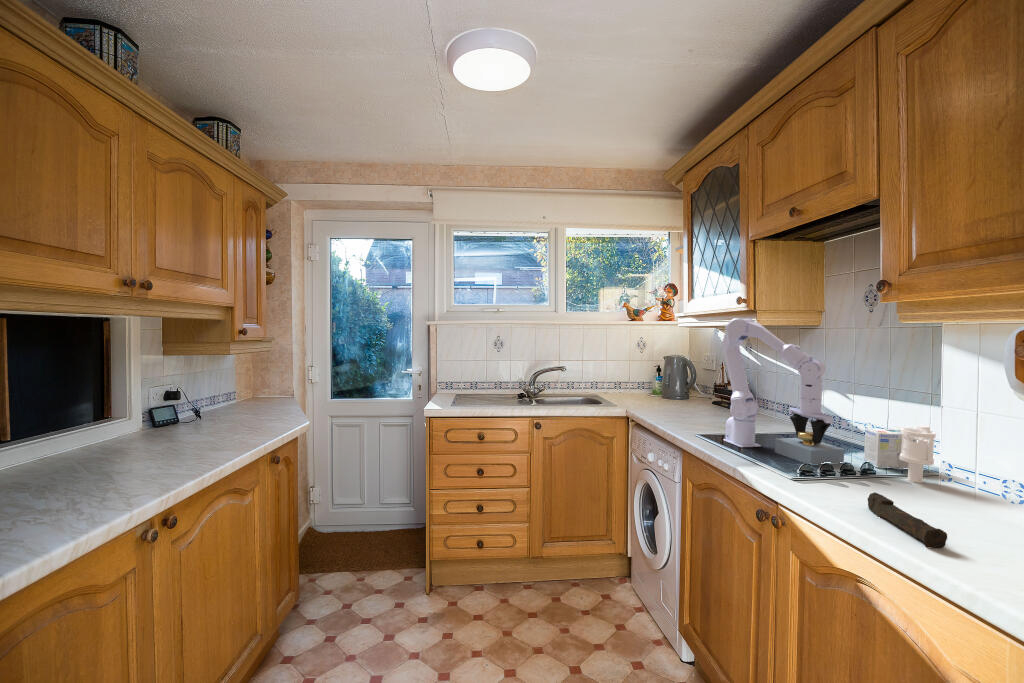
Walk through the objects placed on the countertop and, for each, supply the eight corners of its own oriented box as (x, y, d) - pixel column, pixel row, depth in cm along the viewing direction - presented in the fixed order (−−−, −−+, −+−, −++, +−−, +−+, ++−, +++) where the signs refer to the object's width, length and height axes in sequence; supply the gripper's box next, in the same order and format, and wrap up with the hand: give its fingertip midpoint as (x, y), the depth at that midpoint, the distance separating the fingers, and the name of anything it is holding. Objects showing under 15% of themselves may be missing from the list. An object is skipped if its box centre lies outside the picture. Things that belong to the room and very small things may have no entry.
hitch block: (774, 452, 151) (775, 438, 151) (805, 450, 154) (806, 437, 153) (810, 465, 138) (811, 450, 137) (843, 463, 140) (844, 449, 140)
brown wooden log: (948, 551, 87) (950, 527, 87) (925, 549, 88) (926, 525, 87) (881, 510, 106) (882, 490, 106) (862, 509, 106) (863, 489, 106)
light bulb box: (899, 463, 141) (901, 429, 141) (916, 470, 135) (918, 434, 134) (862, 461, 142) (864, 427, 142) (877, 468, 136) (879, 432, 135)
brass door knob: (793, 449, 147) (793, 431, 147) (807, 449, 149) (808, 430, 149) (808, 454, 142) (809, 435, 142) (822, 453, 143) (823, 434, 143)
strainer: (939, 484, 123) (942, 429, 122) (920, 486, 121) (923, 430, 120) (909, 475, 130) (913, 423, 129) (891, 477, 128) (894, 424, 127)
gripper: (781, 394, 151) (780, 435, 152) (820, 402, 137) (817, 447, 137) (799, 394, 152) (798, 434, 153) (839, 402, 138) (837, 446, 139)
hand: (808, 440), depth 145 cm, fingers closed on brass door knob, 6 cm apart
